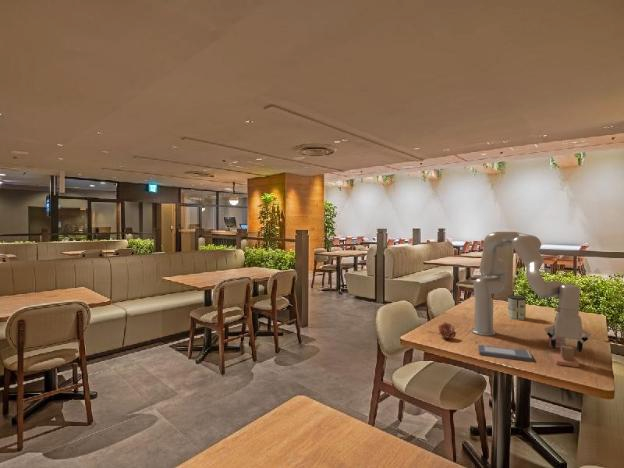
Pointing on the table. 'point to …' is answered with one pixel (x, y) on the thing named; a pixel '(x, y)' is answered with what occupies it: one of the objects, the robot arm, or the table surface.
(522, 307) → the coffee can
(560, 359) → the stub
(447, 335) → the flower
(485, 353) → the ticket board
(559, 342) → the printed box
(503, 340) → the table surface
